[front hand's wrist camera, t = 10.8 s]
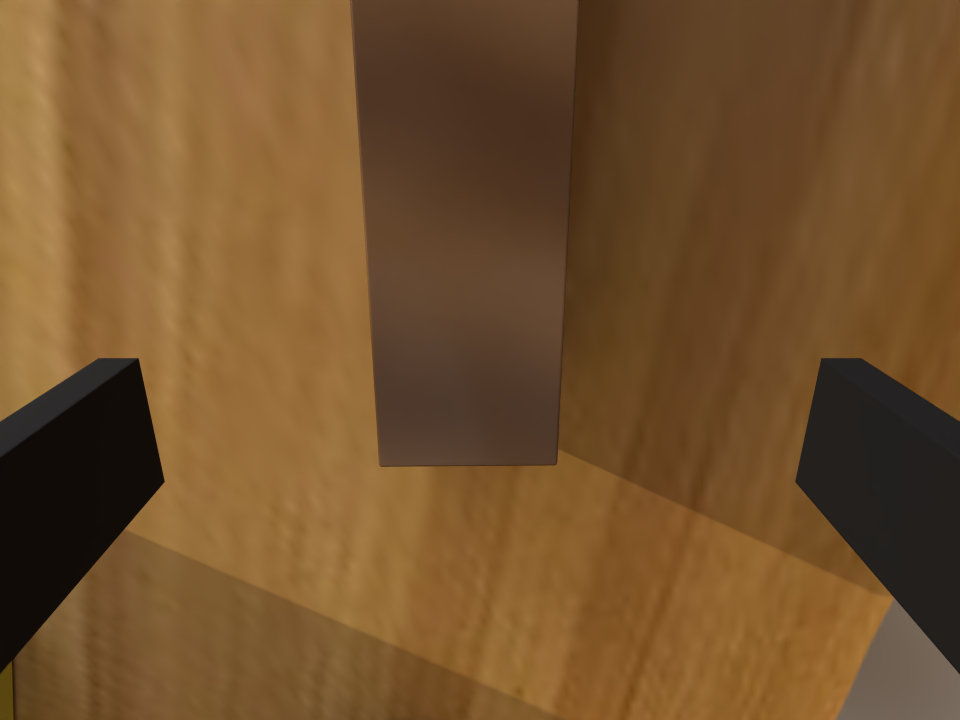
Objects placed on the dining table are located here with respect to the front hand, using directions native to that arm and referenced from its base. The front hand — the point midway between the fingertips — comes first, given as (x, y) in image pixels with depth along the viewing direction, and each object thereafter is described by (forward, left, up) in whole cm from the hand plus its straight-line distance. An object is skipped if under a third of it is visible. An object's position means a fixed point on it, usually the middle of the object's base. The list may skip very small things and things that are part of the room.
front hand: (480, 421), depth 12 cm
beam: (+25, -28, -14) cm, 40 cm away
